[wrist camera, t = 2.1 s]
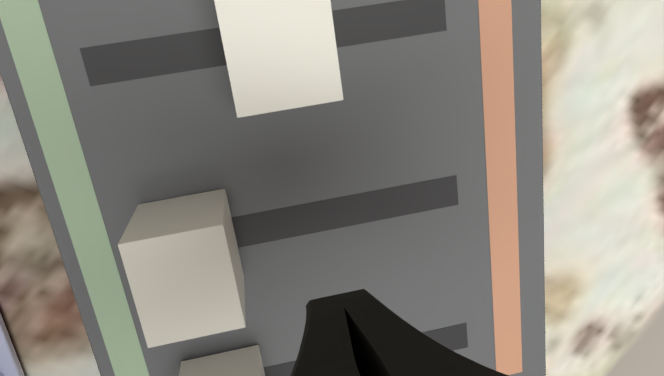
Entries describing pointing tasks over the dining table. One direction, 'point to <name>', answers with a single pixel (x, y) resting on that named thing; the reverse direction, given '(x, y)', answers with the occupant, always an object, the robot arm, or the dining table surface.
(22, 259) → the dining table surface
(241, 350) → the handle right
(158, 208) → the handle middle
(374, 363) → the robot arm
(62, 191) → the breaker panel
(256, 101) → the handle
